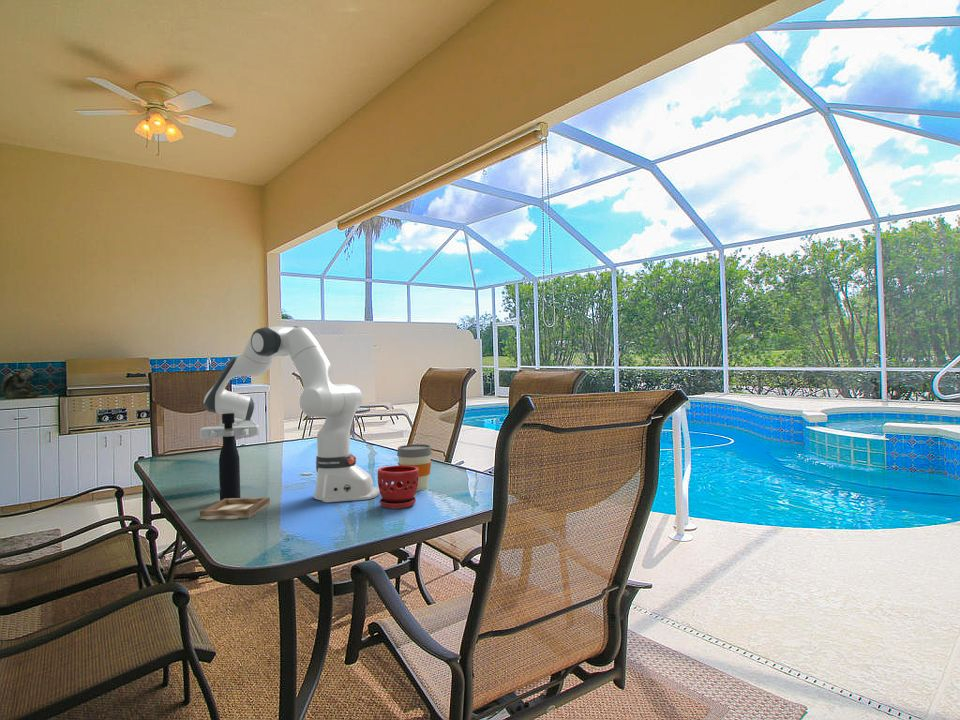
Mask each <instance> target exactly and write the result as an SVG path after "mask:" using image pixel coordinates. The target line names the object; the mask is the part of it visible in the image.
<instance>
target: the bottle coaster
mask: <svg viewBox="0 0 960 720" xmlns="http://www.w3.org/2000/svg"><path fill="white" fill-rule="evenodd" d="M270 505H271V498H270V497H240V498H225V499H223V500H221V501H220V500H219V501H217V502H215V503H213V504H212V505H209V506H208V507H206V508H204V509H201V510H200V511H199V520H200V519H206V520H237V519H238V518H241V519H242V518H249V519H251V518H252V517H254V516H255V515H257V514H258V513H260V512H262V511H263V510H265V509H266V508H268V507H269V506H270ZM267 506H268V507H267ZM264 508H265V509H264ZM262 509H263V510H262ZM261 510H262V511H261ZM259 511H260V512H259ZM256 513H257V514H256ZM253 515H254V516H253ZM250 517H251V518H250ZM241 519H240V520H241ZM238 520H239V519H238Z"/></svg>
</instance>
